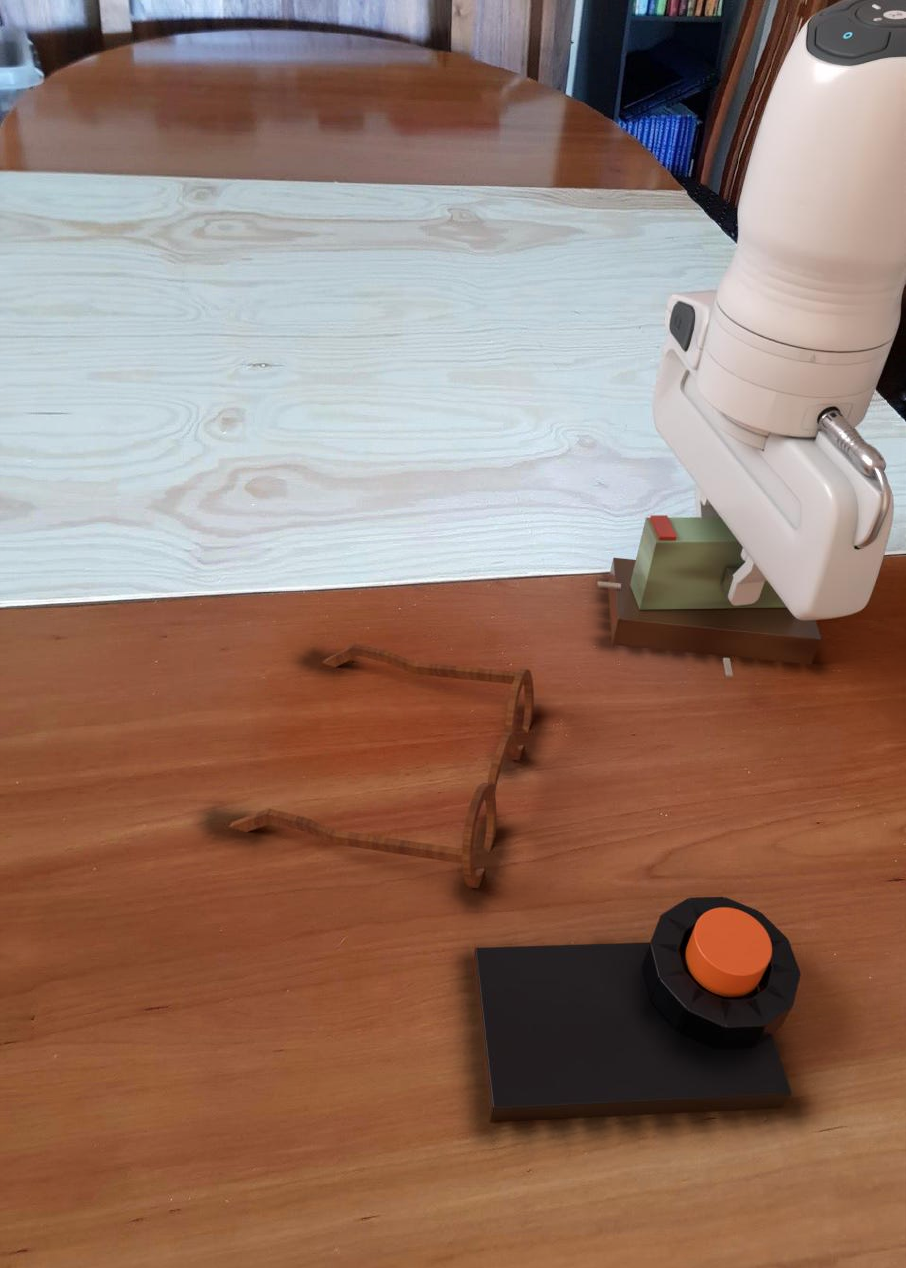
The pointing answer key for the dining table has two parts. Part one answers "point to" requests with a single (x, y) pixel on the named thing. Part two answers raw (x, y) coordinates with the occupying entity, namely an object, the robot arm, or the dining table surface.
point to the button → (728, 952)
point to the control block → (629, 1027)
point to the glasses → (482, 793)
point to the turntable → (708, 627)
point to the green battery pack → (689, 565)
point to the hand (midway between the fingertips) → (723, 576)
